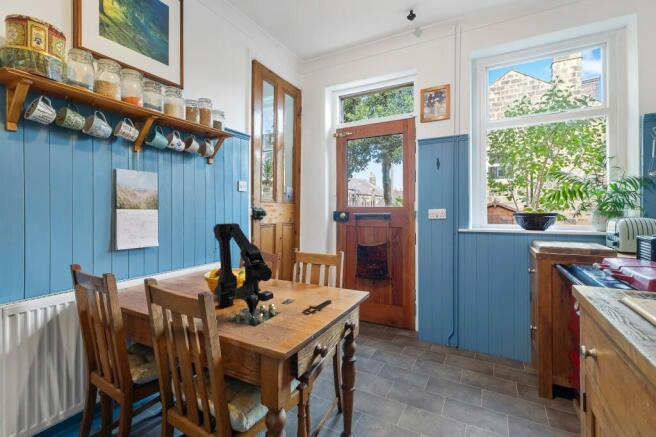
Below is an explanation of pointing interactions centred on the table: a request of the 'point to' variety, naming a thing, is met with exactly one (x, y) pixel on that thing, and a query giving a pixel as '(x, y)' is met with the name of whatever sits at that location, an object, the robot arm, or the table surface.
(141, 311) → the table surface
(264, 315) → the spacer plate
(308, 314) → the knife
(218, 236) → the robot arm
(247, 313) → the nut
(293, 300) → the pliers
